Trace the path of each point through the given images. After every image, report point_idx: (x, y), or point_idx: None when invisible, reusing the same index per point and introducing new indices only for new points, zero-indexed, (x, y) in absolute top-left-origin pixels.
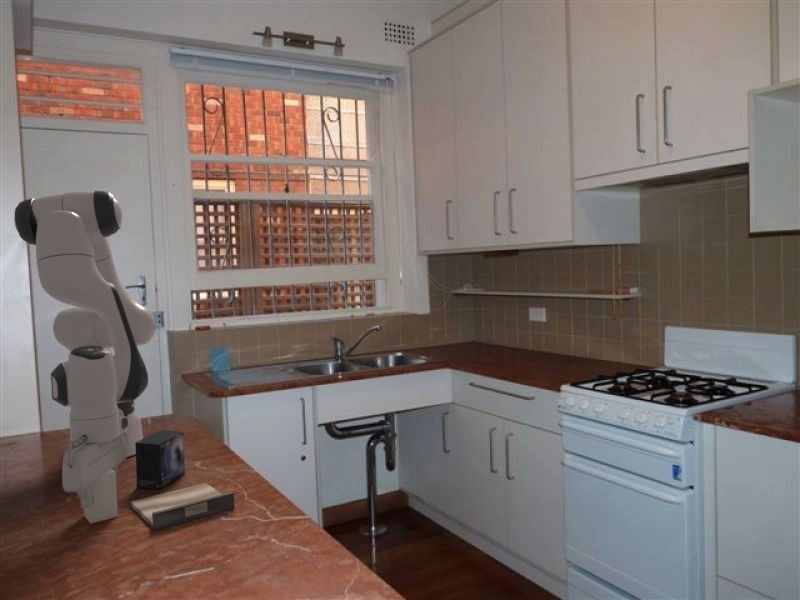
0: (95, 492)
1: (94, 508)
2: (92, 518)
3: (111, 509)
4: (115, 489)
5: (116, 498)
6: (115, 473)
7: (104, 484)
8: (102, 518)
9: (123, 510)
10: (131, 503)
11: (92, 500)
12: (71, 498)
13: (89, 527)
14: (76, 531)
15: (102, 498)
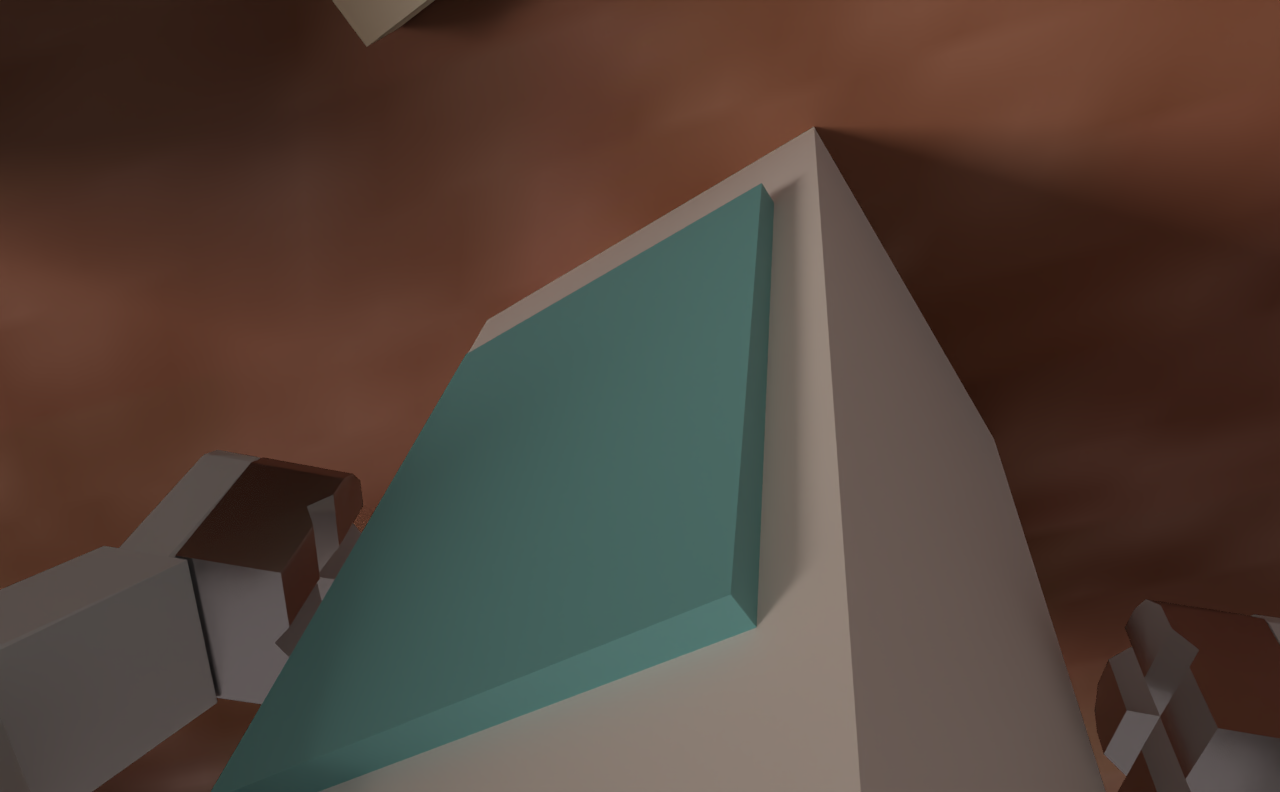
0: (1058, 743)
1: (1004, 526)
2: (996, 457)
3: (866, 261)
4: (841, 377)
5: (825, 257)
6: (11, 635)
7: (992, 731)
8: (925, 329)
9: (564, 107)
10: (405, 17)
11: (1252, 674)
12: (185, 767)
13: (1149, 418)
14: (1228, 533)
15: (973, 519)
